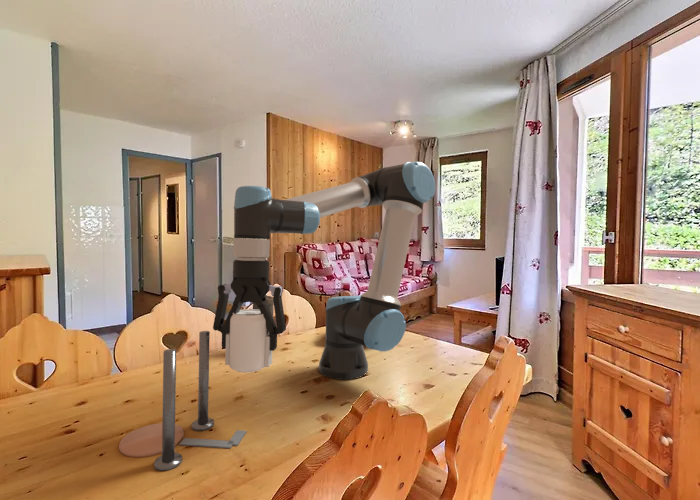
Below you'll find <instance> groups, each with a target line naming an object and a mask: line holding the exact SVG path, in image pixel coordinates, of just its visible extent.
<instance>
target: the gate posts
mask: <svg viewBox="0 0 700 500" xmlns="http://www.w3.org/2000/svg"><path fill="white" fill-rule="evenodd" d="M210 333H211V332H210V330H201V331H199V335H198V336H199V339H198V341H199V342H198V386H197V387H198V389H197V391H198V394H197V396H198V397H197V398H198V399H197V405H198V406H197V419H195V420H193V421H192V422H191V429H192V431H196V432H203V431H207V430H210V429H211V428H213V427H214V426H215V420H214V419H213V418H212V417H209V389H210V388H209V387H210V385H209V384H210V383H209V381H210V337H211V336H210V335H211V334H210ZM162 355H163V357H162V359H163V361H162V362H163V365H162V369H163V370H162V374H163V375H162V420H161V423H162V453H161V455H159V456H158V457H157V458H156V459H154V462H153V468H154V469H155V470H156V471H159V472H167V471H171V470H174V469H175V468H177V467H179V466H180V465H181V464H182V461H183V456H182V454H181V453H179V452H176V450H175V449H176V446H175V424H176V396H177V395H176V394H177V393H176V390H177V386H176V385H177V383H176V382H177V349H175V348H169V349H167V348H166V349H165V350H163V354H162Z"/></svg>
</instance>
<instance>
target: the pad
mask: <svg viewBox="0 0 700 500" xmlns="http://www.w3.org/2000/svg"><path fill="white" fill-rule="evenodd" d="M183 439H184V429H183V427H181V426H180V425H178V424H176V423H175V447H176V446H177V445H179V444H180V443H181V442H182V440H183ZM118 449H119V451H120V453H121V454H122V455H124V456H127V457H130V458H145V457H151V456H156V455H159V454H162V422H161V423H154V424H153V423H152V424H149V425H144V426H141V427H139V428H137V429H134V430H133V431H130V432H128V433H127V434H125V436H124V437H122V438H121V440H120V441H119V444H118Z"/></svg>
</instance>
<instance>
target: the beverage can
mask: <svg viewBox="0 0 700 500" xmlns="http://www.w3.org/2000/svg"><path fill="white" fill-rule="evenodd" d="M263 315H264V314H261V312H260V310H259V309H253V308H245V309H240V311H239V312H238V313H236V314H234V313H233V315H232V317H231V319H230V349H229V365H228V367H229V368H230V369H231V370H233V371H236V372H238V373H254V372H258V371H260V370H262V369H265V368H266V367H265V343H266V336H267V335H268V334H269V332H268V330H267V327H266V320H265V318H264V317H263Z"/></svg>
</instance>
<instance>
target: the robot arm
mask: <svg viewBox="0 0 700 500" xmlns="http://www.w3.org/2000/svg"><path fill="white" fill-rule="evenodd" d="M427 165H428V164H425V163H423V162H421V161H412V162H411V161H406V162H405V163H401V164H396V165H391V166H386V167H382V168H378V169H375V170H374V171H371V172H369V173H366V174H363V175H361V176H357V177H353V178H352V179H351V180H350V182H347V183H344V184H340V185H335V186H332V187H328V188H324V189H321V190H317V191H313V192H308V193H304V194H301V195H297V196H293V197H290V198H287V199H277V198H275V197H273V196H272V191H271V189H270V188H269V187H264V186H258V185H242V186H239V187H237V189H236V190H235V193H234V195H235V196H234V202H233V203H234V205H233V210H234V213H233V215H234V216H233V218H234V219H233V225H234V226H233V232H234V233H233V251H232V256H233V257H234V258H235V259H234V260H233V262H232V280H231V283H228V284H227V283H222V284H220V285H218V286H217V290H218V300H217V304H216V310H215V315H214V319H213V320H214V321H213V326H212V329H213V331H217V332H220V333H221V348H222V349H225V353H224V354H225V355H224V357H225V358H224V359H225V360H224V361H225V363H224V364H225V366H229V349H230V319H231V317H232V315H233V313H234V314H236V313H238V312H239V311H240V310H242V309H241V308H242V307H243V304H244V303H252V304H253V303H256V304H257V306H258V307H259V309H260V312H261V314H264V315H263V317H264V318H265V320H266V327H267V330H268V332H269V334H268V335H267V336H266V343H265V367H264V368H269V367H270V366H271V365H272V364H273V352H274V351H275V350H276V349H277V347H278V335H280V334H283V333H284V332H285V331H286V329H287V326H286V319H285V313H284V312H285V311H284V305H283V292H284V287H283V286H280V285H279V286H275V285H272V284H271V282H270V279H269V278H270V261H269V260H267V259H268V258H270V247H271V246H270V245H271V243H270V242H271V234H298V235H300V234H301V235H304V234H305V235H306V234H307V235H309V234H314V233H315V232H316V231H317V230H318V228H319V225H320V223H321V222H320V221H321V218H324V217H328V216H330V215H334V214H337V213H341V212H344V211H346V210H350V209H354V208H359V209H363V208H367V207H373V206H382V207H383V208H384V210H385V214H384V218H383V223H382V228H381V231H380V236H379V238H378V239H379V240H378V243H377V248H376V251H375V252H376V253H375V257H374V262H373V266H372V270H371V275H370V279H369V282H368V286H367V287H368V288H367V290H366V291H365V292H364V293H362V294H361V295H344V296H343V295H341V296H332V297H330V298H328V299H327V301H326V304H325V305H326V306H325V344H324V348H323V351H322V354H321V357H320V359H319V364H318V372H319V373H320V374H321V375H323V376H325V377H326V378H327V377H328V378H330V379H335V380H354V379H353V378H355V379H358V378H357V377H360V376H362V377H364V376H365V375H364V374H365V373H367V371H368V372H369V362H368V359H367V356H366V352H365V347H366V348H368V349H369V350H373V351H379V352H384V353H385V352H388V351H391V350H393V349H394V348H395V347H396V346H398V345H399V344H400V343H401V341H402V339H403V337H404V336H405V332H406V328H407V327H406V326H407V323H406V320H405V316H404V314H403V313H402V312H401V308H402V303H401V302H400V300H399V298H398V296H399V293H400V292H399V291H400V287H401V283H402V278H403V273H404V268H405V264H406V261H407V260H406V259H407V255H408V250H409V246H410V242H411V241H410V240H411V237H412V232H413V228H414V223H415V219H416V217H418V215H420V214H422V213H423V207H424V203H428V202H430V201H431V200H432V199H433V198H434V195H435V193H436V180H435V177H434V175H433V172H432V170H431V169H430V168H429V167H428V166H427ZM231 290H232V291H233V293H234V295H235V297H234V300H233V302H232V306H231V308H230V310H229V312H228V314H227V317H226V312H227V306H228V303H229V298H230V297H229V296H230V294H231V292H232V291H231ZM268 292H270V296H271V297H273V302H274V306H273V310H274V313H275V314H274V315H275V320H274V316H273V317H272V314H271V312H270V309H269V307H268V304H267V299H266V297H265V295H267V294H268ZM225 318H226V319H225ZM367 374H368V373H367ZM363 375H364V376H363ZM360 378H361V377H360Z"/></svg>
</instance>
